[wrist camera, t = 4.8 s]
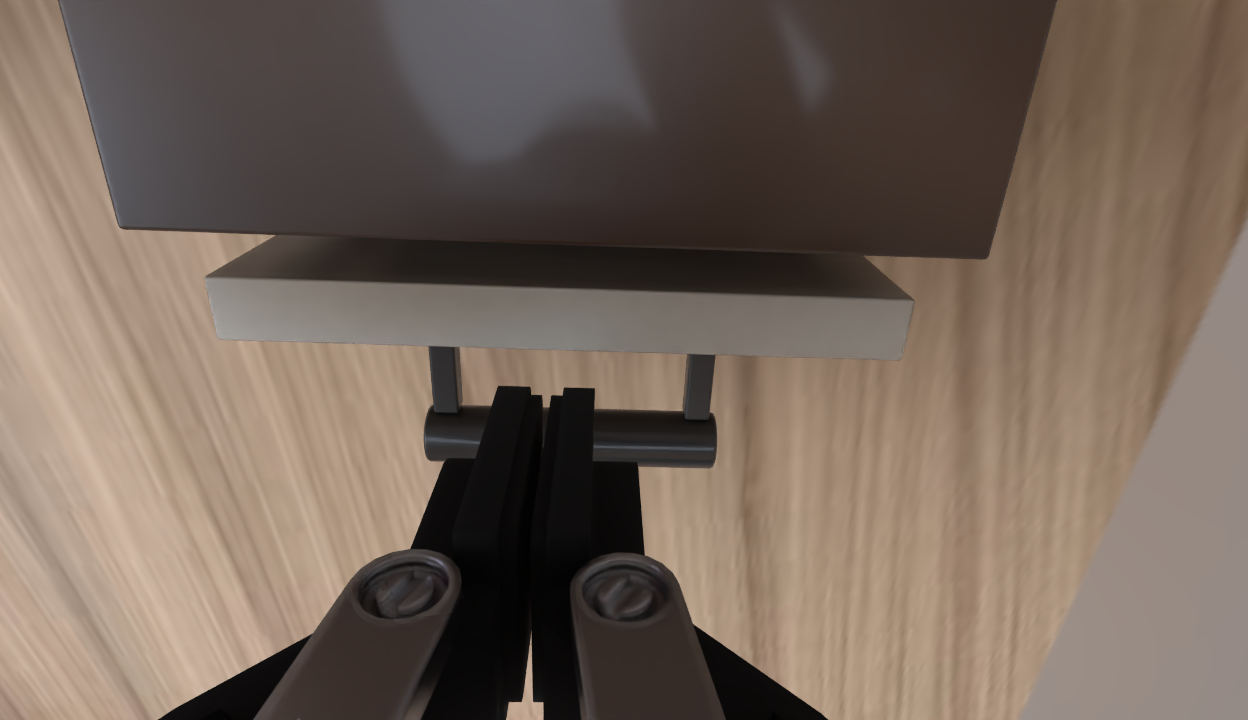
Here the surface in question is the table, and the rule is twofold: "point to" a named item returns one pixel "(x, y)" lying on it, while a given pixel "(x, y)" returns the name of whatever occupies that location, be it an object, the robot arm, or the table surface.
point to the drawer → (563, 317)
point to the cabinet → (565, 119)
